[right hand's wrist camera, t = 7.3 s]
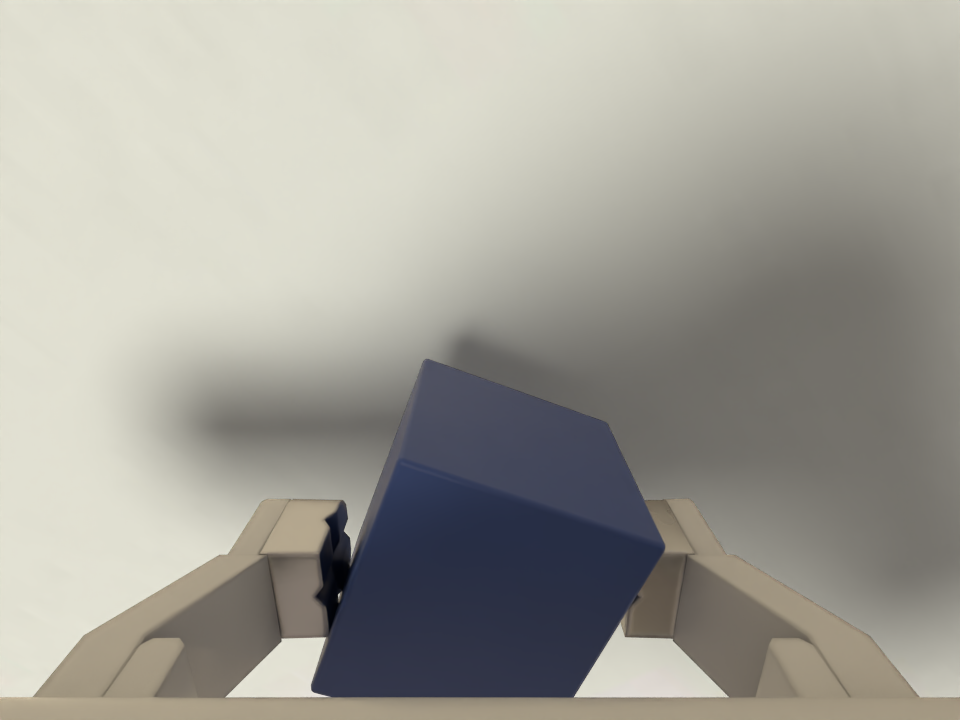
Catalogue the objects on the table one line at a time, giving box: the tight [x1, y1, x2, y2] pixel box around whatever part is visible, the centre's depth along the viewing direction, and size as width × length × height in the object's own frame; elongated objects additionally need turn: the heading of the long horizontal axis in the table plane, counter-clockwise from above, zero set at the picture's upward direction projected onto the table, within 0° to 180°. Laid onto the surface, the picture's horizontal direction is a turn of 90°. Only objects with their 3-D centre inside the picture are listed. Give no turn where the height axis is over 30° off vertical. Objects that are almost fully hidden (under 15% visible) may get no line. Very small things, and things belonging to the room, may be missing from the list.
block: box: [311, 359, 665, 698], centre depth 10 cm, size 4×5×4 cm
